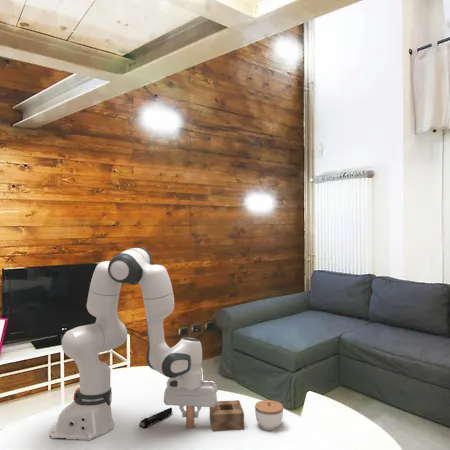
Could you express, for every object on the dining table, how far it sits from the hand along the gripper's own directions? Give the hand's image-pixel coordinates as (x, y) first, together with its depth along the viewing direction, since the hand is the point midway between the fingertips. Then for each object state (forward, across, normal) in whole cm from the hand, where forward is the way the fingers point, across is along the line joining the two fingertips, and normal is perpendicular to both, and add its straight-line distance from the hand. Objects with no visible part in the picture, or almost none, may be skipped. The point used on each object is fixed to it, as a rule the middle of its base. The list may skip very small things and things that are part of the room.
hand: (190, 416), depth 149 cm
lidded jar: (+4, -30, -4) cm, 30 cm away
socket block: (+4, -13, -4) cm, 15 cm away
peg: (+4, 0, 0) cm, 4 cm away
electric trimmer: (+4, +14, -4) cm, 15 cm away
